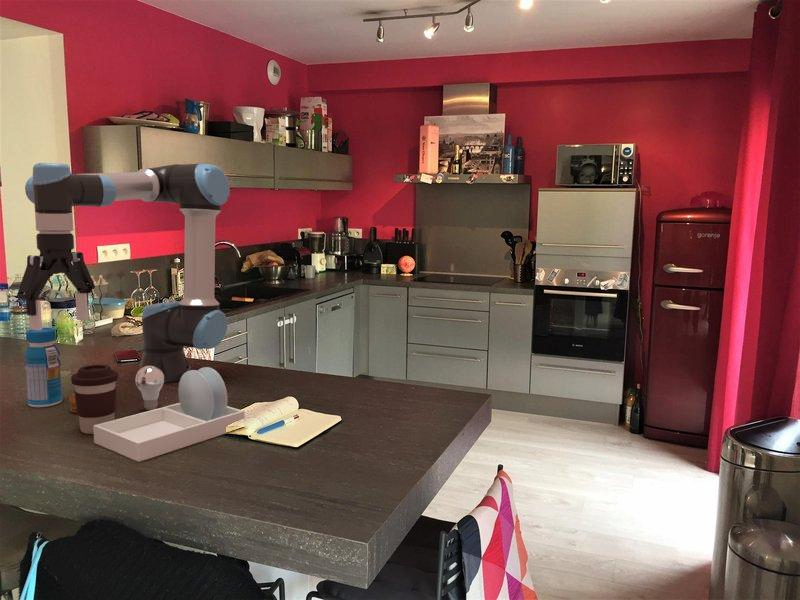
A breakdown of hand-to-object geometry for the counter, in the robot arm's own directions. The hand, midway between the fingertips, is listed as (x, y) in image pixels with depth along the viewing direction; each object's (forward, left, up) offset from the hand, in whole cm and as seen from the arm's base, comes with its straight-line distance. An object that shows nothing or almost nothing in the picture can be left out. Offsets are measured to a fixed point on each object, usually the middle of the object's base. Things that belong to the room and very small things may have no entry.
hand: (60, 324), depth 151 cm
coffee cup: (-4, +6, -25) cm, 26 cm away
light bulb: (-20, +3, -25) cm, 33 cm away
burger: (-11, -11, -25) cm, 30 cm away
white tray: (-13, +23, -25) cm, 36 cm away
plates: (-22, +23, -24) cm, 40 cm away
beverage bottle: (-6, -24, -25) cm, 35 cm away
